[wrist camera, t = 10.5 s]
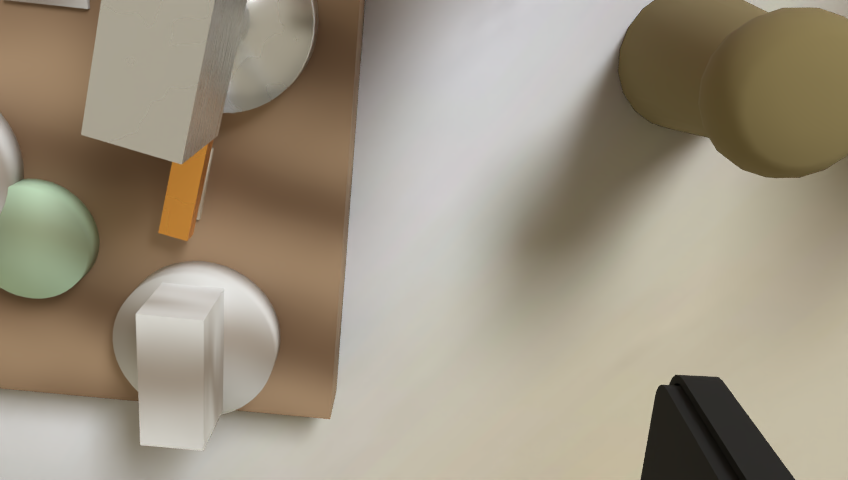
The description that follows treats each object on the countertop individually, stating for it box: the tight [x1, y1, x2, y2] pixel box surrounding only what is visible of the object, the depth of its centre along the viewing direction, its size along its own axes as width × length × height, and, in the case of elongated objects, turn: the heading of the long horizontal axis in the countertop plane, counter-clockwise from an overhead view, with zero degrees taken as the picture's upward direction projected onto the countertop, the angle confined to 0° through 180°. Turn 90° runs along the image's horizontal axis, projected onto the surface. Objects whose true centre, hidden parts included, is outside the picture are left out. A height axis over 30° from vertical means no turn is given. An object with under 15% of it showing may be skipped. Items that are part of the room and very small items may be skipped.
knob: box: [81, 0, 319, 241], centre depth 25 cm, size 12×7×8 cm, turn 163°
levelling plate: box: [0, 0, 365, 451], centre depth 30 cm, size 22×20×7 cm
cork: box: [618, 0, 848, 178], centre depth 26 cm, size 6×6×11 cm
